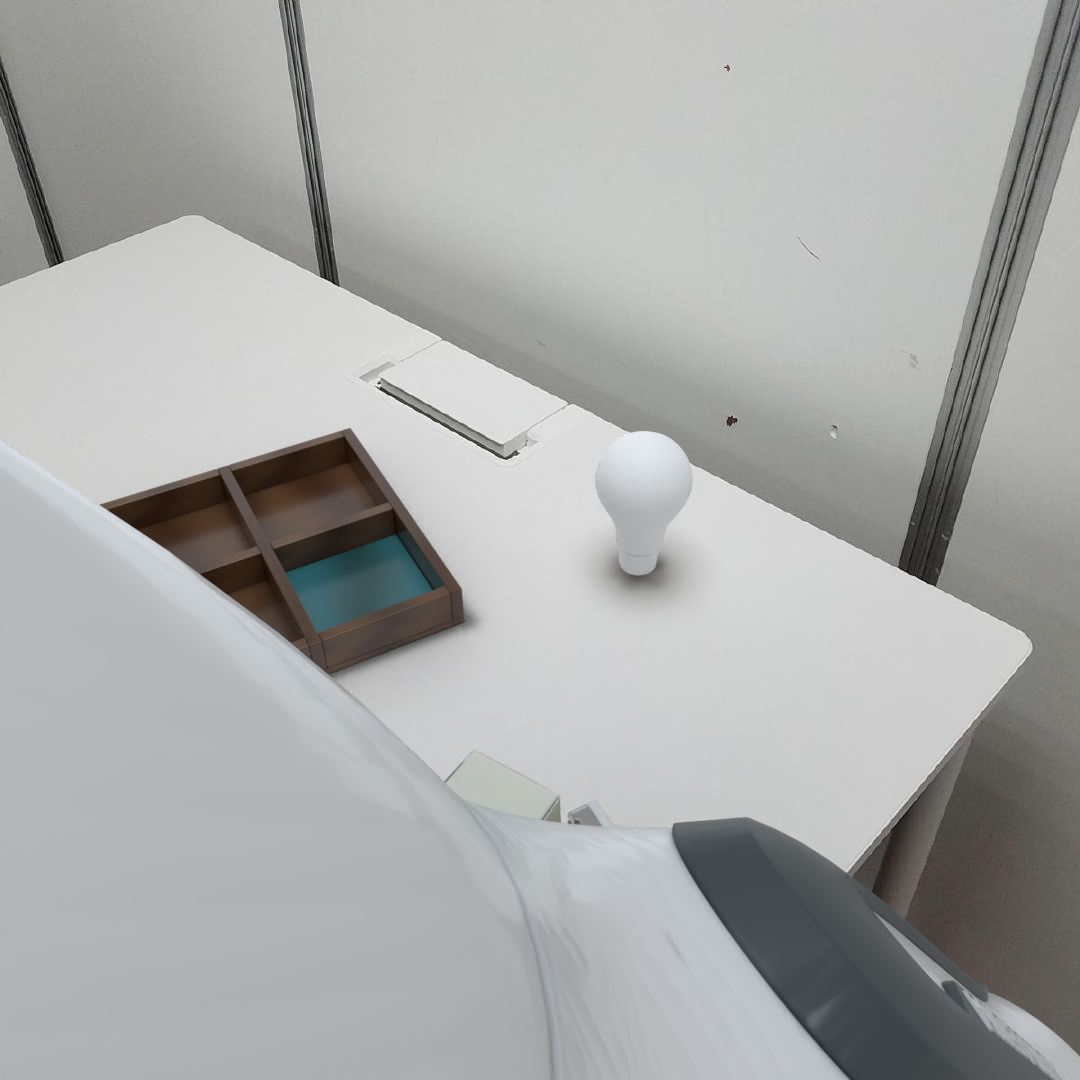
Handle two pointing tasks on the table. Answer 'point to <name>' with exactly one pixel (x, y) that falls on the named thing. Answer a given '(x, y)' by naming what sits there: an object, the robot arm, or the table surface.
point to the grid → (307, 548)
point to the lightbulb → (642, 494)
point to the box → (503, 788)
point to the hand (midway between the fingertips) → (491, 854)
